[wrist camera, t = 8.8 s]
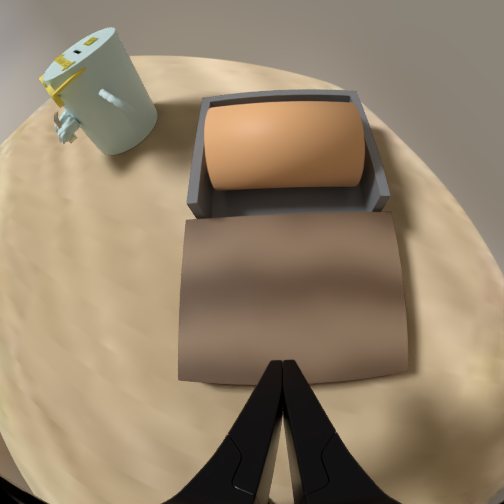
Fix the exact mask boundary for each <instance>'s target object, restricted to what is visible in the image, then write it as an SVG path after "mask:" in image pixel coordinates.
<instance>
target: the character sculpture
mask: <svg viewBox="0 0 504 504" xmlns="http://www.w3.org/2000/svg"><path fill="white" fill-rule="evenodd" d="M39 79H40V81H41V82H42V83H43V85H44V86H45V87H46V90H47V91H48V93H49V94H50V96H51V97H52V98H53V100H54V101H55V102H56V103H57V105H58V106H59V107H60V108H61V107H62V106H63V107H64V108H65V109H66V110H65V111H64V112H63V114H62V115H61V116H60V117H59V119H58V111H57V112H56V113H55V114H54V122H55V131H56V132H58V137H59V141H60V142H63V144H65V142H68V141H69V142H70V143H72V142H73V141H75V140H76V139H77V137H76V135H75V134H74V133H75V132H76V131H77V130H78V129H79V127H80V128H81V129H82V130H83V131H84V132H85V134H86V135H87V136H88V137H89V138H90V140H91V141H92V142H93V143H94V144H95V145H96V147H97V148H98V149H99V150H100V151H101V152H102V153H104V154H106V155H116V154H120V153H123V152H125V151H127V150H129V149H132V148H133V147H135V146H136V145H137V144H139V143H140V142H142V141H143V140H144V139H145V138H146V137H147V136H148V135H149V134H150V132H151V131H152V129H153V128H154V126H155V124H156V121H157V118H158V115H157V110H156V108H155V106H154V104H153V102H152V100H151V98H150V97H149V95H148V93H147V91H146V89H145V87H144V85H143V83H142V81H141V79H140V77H139V75H138V73H137V71H136V69H135V67H134V65H133V63H132V61H131V59H130V57H129V56H128V54H127V52H126V50H125V48H124V46H123V44H122V42H121V40H120V38H119V36H118V34H117V32H116V30H115V29H114V28H106V29H103V30H100V31H97V32H95V33H93V34H91V35H89V36H87V37H86V38H84V39H82V40H81V41H79V42H77V43H76V44H75V45H73V46H72V47H70V48H69V49H68V50H66V51H65V52H64V53H63V54H61V55H60V56H58V57H57V58H56V59H55V60H54V62H53V63H52V64H51V65H50V67H49V68H48V69H47V70H46V72H45V74H44V75H43V76H41V77H40V78H39Z"/></svg>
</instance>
